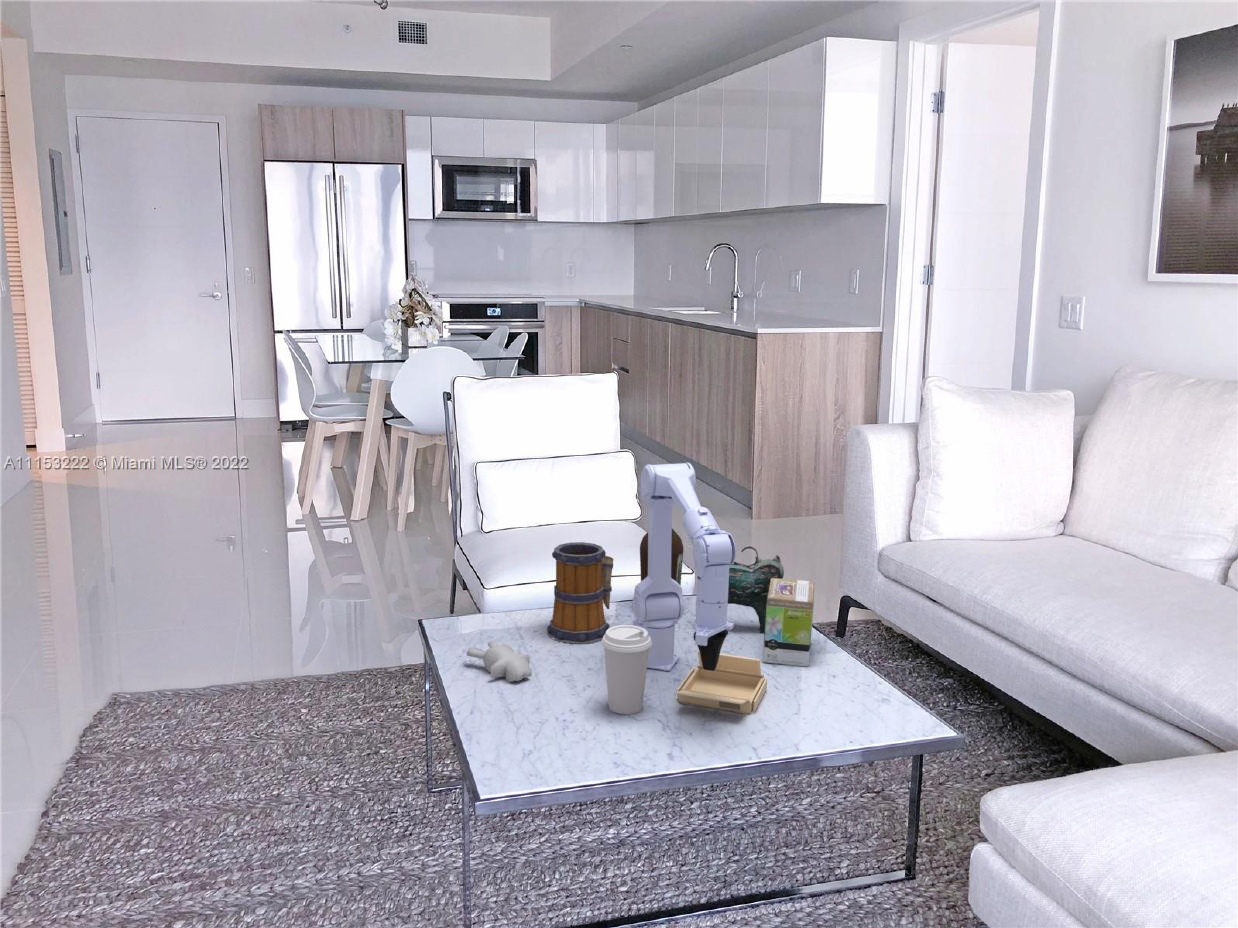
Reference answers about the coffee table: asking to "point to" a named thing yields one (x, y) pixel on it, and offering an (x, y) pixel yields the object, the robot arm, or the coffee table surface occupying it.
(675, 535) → the olive oil
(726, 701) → the flap near
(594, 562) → the mug
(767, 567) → the green animal figurine
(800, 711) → the coffee table surface
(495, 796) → the coffee table surface
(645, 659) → the coffee cup
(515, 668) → the bunny figurine
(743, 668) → the flap far
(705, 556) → the robot arm
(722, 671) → the carton
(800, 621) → the tea box
